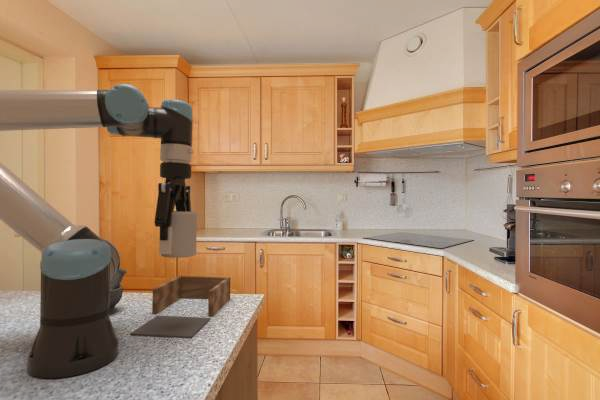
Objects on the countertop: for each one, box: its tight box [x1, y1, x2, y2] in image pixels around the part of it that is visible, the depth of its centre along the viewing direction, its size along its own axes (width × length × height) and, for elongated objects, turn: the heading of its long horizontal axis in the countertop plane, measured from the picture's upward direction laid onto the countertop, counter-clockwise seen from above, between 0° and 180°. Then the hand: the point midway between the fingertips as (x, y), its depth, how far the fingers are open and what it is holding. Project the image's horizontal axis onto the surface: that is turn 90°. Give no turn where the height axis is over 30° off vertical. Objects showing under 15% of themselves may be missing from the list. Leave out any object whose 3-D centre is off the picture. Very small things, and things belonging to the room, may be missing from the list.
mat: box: [129, 315, 211, 339], centre depth 89 cm, size 13×15×1 cm
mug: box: [160, 210, 198, 259], centre depth 90 cm, size 12×8×11 cm
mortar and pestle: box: [109, 267, 127, 315], centre depth 100 cm, size 11×9×12 cm
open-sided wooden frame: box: [151, 275, 231, 317], centre depth 107 cm, size 18×17×7 cm
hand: (174, 250), depth 89 cm, fingers closed on mug, 9 cm apart
